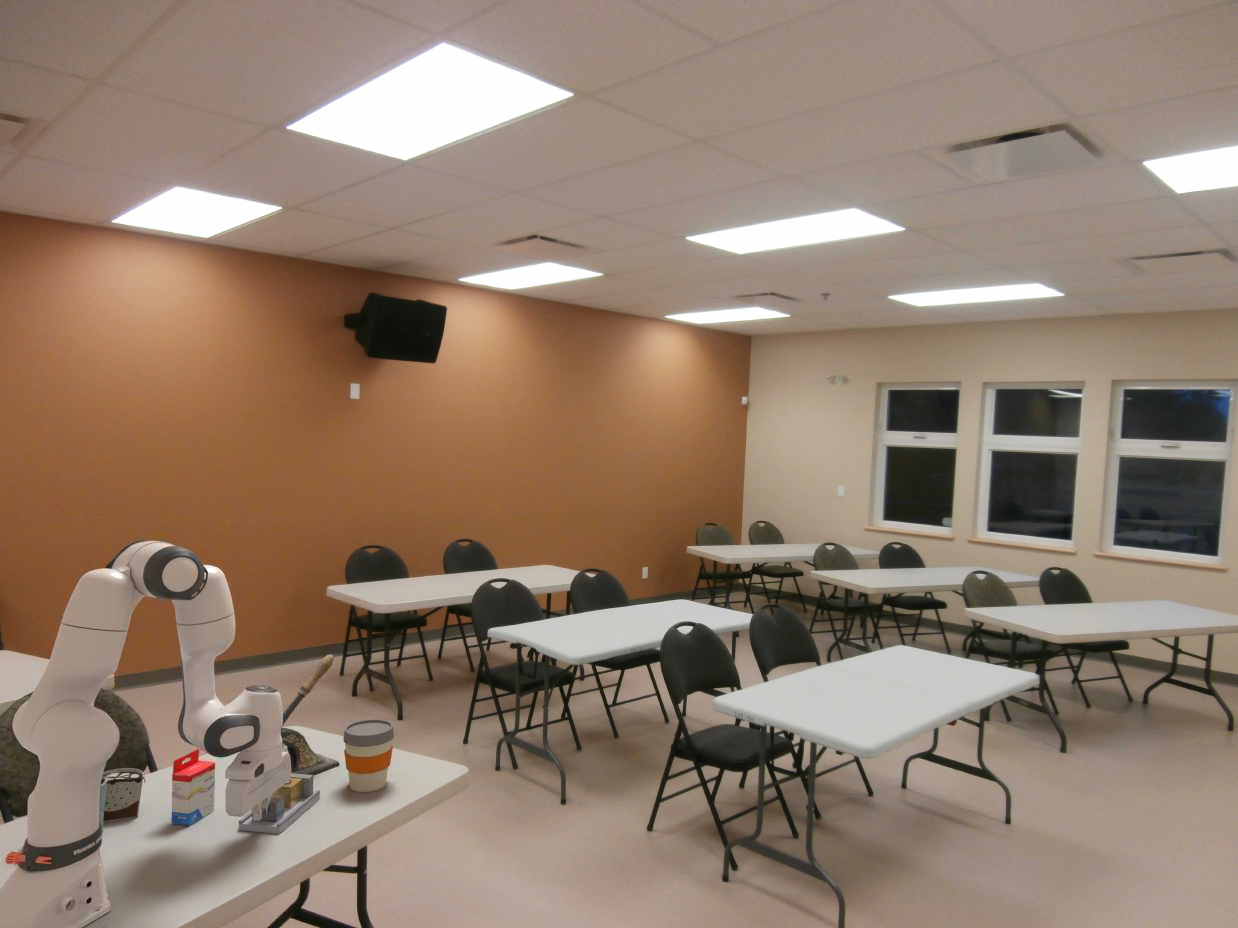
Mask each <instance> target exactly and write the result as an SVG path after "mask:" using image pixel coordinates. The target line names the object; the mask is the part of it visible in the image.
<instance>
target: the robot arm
mask: <svg viewBox="0 0 1238 928" xmlns="http://www.w3.org/2000/svg"><path fill="white" fill-rule="evenodd" d="M228 583H229V582H228V581H227V578H226V574H225V573H224V571H222V570H221V569H220V568H219V567H216V566H215V565H210V564H203V563H202V562H201V560H200V558H198V556H197V555H196V554H195V553H194V552H193V551H191V550H189V549H188V548H185V547H184V546H180V545H175V544H172V543H169V542H167V541H159V540H149V539H142V540H137V541H136V540H135V541H133V542H130V543H128V544H126V545H124V546H123V547H122V548H120V549H119V550H118V551H117V553H116V554H115V555H114V556H113V558H112V559H111V560H110V561H109V562H108V563H107V564H106V565H105V566H104V568H97V569H93V570H90V571H87V572H86V573H84V574H83V575H82V576H81V577H80V578H79V580H78V582H77V584H76V586H74V589H73V591H72V594H71V595H70V598H69V600H68V603H67V605H66V606H65V610H64V612H63V615H62V619H61V623H60V625H59V629H58V632H57V635H56V638H55V641H54V645H53V648H52V650H51V653H50V654H51V655H50V657H49V661H48V663H47V666H46V668H45V670H44V672H43V674H42V675H41V677H40V679H39V682H38V683H37V685H36V687H35V688H34V690H33V692H32V693H31V695H30V697H29V699H27V700H26V701H25V702H24V703H22V705H21V706H19V708H18V709H17V711H16V713H15V714H14V716H13V719H12V730H13V734H14V735H15V738H16V740H17V741H18V742H19V744H20V745H21V747H22V748H24V749H25V750H27V751H28V752H30V753H32V754H34V755H36V756H37V758H38V761H39V773H38V777H37V782H36V785H35V786H34V789H33V791H32V792H31V793H30V794H29V796H28V798H27V824H26V825H27V832H26V833H27V834H26V835H27V836H26V837H27V838H26V839H25V841H24V843H23V845H22V847H21V848H22V849H21V850H20V852H17V851H9V852H8V853H7V854H6V856H5V860H4V861H5V864H6V865H14V866H15V865H17V867H16V868H15V870H14V871H13V872H12V873H11V874H10V876H9V878H7V879H6V881H5V882H4V884H3V885H2V886H1V888H0V928H84V927H86V926H87V925H88V924H89V925H90V924H91V923H92V922H94V921H95V920H97V919H99V918H100V917H102V916H105V915H106V914H108V913H109V912H110V911H112V905H111V902H110V900H109V892H108V891H109V890H108V888H107V884H106V875H105V868H104V863H103V859H102V855H101V850H100V849H101V845H102V843H103V834H104V833H102V825H101V823H100V822H99V805H100V786H101V780H102V776H103V772H105V768H106V766H107V765H106V764H107V763H108V762H107V761H108V760H109V759H110V758H111V757H112V756H113V754H114V753H115V752H116V750H117V748H118V746H119V742H120V730H119V727H118V726H117V724H116V722H115V720H113V719H112V718H111V716H110V715H109V714H108V713H107V712H106V711H104V710H102V709H100V708H99V707H96V706H94V705H95V700H96V698H97V696H98V694H99V692H100V690H101V689H102V688H103V685H104V684H105V682H106V681H107V680H108V679H109V678H110V677H112V676H113V675H114V674H115V673H116V671H117V669H118V666H119V663H120V660H121V657H122V653H123V648H124V645H125V642H126V639H127V635H128V630H129V627H130V623H131V620H132V619H131V618H132V616H133V615H132V614H133V613H134V610H135V608H136V607H137V606H138V604H139V603H140V602H141V601H142V599H144V598H145V597H149V598H156V599H161V600H165V601H171V602H172V604H173V608H174V613H175V622H176V630H177V635H178V636H177V637H178V641H179V647H180V661H181V662H180V664H181V665H180V667H181V678H182V679H181V681H182V694H183V695H182V697H183V700H182V707H181V710H180V714H179V718H178V721H177V731H178V734H179V736H180V738H181V740H183V741H184V742H185V743H187V744H189V745H192V746H194V747H196V748H197V749H199V750H201V751H203V752H205V753H207V754H208V755H210V756H212V757H214V758H219V759H221V758H226V757H227V758H228V757H230V756H233V755H235V754H237V755H236V756H235V757H234V759H233V761H232V762H231V763H230V764H229V766H228V767H227V768H226V769H225V772H224V773H225V774H224V776H225V779H228V781H227V783H226V787H225V813H227V815H228V816H230V817H241V818H243V817H245V816H246V815H247V814H248V813H250V812H251V811H252V812H253V820H256V821H259V820H261V819H262V818H263V817H264V816H266V815H267V812H268V805H269V802H270V800H271V794H272V793H274V792H275V791H276V790H278V789H279V788H280V787H282V786H283V785H284V784H286V783H287V782H288V781H289V780H290V777H291V760H290V755H289V753H288V750H287V746H286V745H285V744H283V743H282V737H281V727H282V728H283V726H282V724H283V713H284V711H283V701H282V696H281V693H280V691H278V690H277V689H276V688H274V687H272V686H268V685H262V684H260V685H259V684H258V685H250V686H249V685H248V686H247V687H245V688H244V689H243V691H242V692H241V693H240V694H239V695H238V696H237V697H236V698H234V700H232V701H230V702H229V703H227V704H226V705H224V704H223V703H222V702H221V701H220V699H219V697H218V696H217V693H216V681H215V680H216V678H215V660H216V658H217V656H220V655H222V654H223V653H224V652H226V651H227V650H228V649H229V648H230V647H231V646H232V644H233V642H234V641H235V637H236V616H235V610H234V609H235V608H234V604H233V603H234V602H233V598H232V594H231V591H230V590H231V589H230V587H229V586H230V585H229V584H228ZM283 725H284V724H283Z"/></svg>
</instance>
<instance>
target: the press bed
mask: <svg viewBox="0 0 1238 928" xmlns="http://www.w3.org/2000/svg"><path fill="white" fill-rule="evenodd" d="M290 778H298V779H302V799H301V800H300V801H299V802H298V803H297V804H295V805H294V806H293V807H292V808H284V816H282V817H281V818H280V819H279V820H278V821H264V820H259V821H256V820H252V810H250V811H249V812H248V813H246V814H245V815H244V816H242V817H241V818H240V820H238V831H244V832H245V831H246V832H258V833H268V834H278V835H279V834H281V833H282V832H284V831H285V830H286V829H287V828H288V827H289V826H290V825H292V823H294V822H295V821H296V820H298V818H300V817H301V816H302V815H303V814H304V813H306V812H307V811H308V810H309V809H310V808H311V807H312V806H313V805H315V804H316V803H317V802H318V801H319V800H321V790H319V789H318V790H317V789H316V790H315V791H314V775H306V774H293V773H291V777H290Z"/></svg>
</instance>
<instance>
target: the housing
mask: <svg viewBox="0 0 1238 928" xmlns="http://www.w3.org/2000/svg"><path fill="white" fill-rule="evenodd" d="M271 797H272V798H284V808H292V807H293V806H294V805H295V804H297V803H298V802H299V801H300V800H301V799H302V779H298V778H290V780H289V781H288V782H287V783H286V784H284V785H283V786H282V787H280V788H279V789H278V790H276V791H275V792H274V793H272V794H271Z"/></svg>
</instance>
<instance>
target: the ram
mask: <svg viewBox="0 0 1238 928" xmlns="http://www.w3.org/2000/svg"><path fill="white" fill-rule="evenodd" d="M282 816H284V798H272V797H271V800H270V802H269V805H268V812H267V815H266V816H264V817H263V818H262V819H261V820H264V821H278V820H279V819H280V818H281V817H282ZM252 820H253V812H252Z"/></svg>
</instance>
